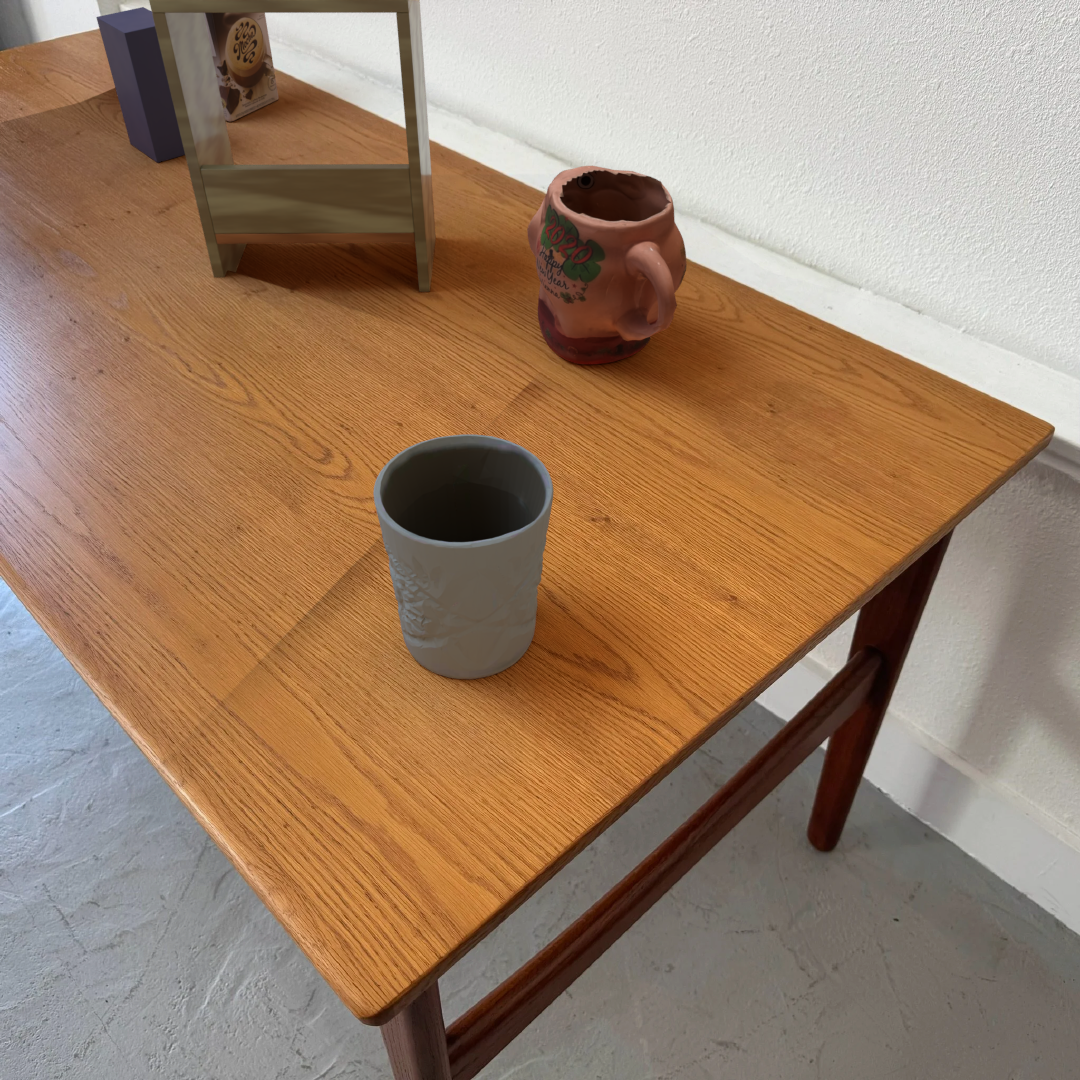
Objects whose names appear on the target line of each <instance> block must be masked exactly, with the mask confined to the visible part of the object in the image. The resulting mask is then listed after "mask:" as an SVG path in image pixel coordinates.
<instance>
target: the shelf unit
mask: <svg viewBox="0 0 1080 1080" xmlns="http://www.w3.org/2000/svg"><path fill="white" fill-rule="evenodd" d="M148 3H149V6H150V11H152V15H153V19H154V24H155V28H156V32H157V36H158V41H159V45H160V49H161V54H162V58H163V62H164V66H165V71H166V75H167V79H168V83H169V88H170V92H171V96H172V101H173V105H174V109H175V113H176V118H177V122H178V126H179V130H180V135H181V139H182V143H183V147H184V152H185V155H184V156H185V160H186V164H187V168H188V172H189V177H190V181H191V186H192V190H193V195H194V199H195V203H196V207H197V210H198V211H197V212H198V216H199V219H200V223H201V228H202V232H203V233H202V234H203V237H204V242H205V245H206V249H207V253H208V254H207V255H208V258H209V262H210V266H211V270H212V276H213V278H225V277H226V275H227V272H228V271H229V272H232V273H237V270H238V268H239V265H240V262H241V260H242V257H243V255H244V252H245V251H246V246H247V244H248V245H249V244H251V245H252V244H253V245H254V244H256V245H257V244H262V245H263V244H415V254H416V255H415V256H416V257H415V258H416V267H417V268H416V269H417V280H418V290H419V292H420V293H429V292H430V291H431V286H432V285H431V284H432V276H433V267H434V266H433V265H434V255H435V249H436V248H435V247H436V238H437V236H436V222H435V221H436V220H435V206H434V190H433V178H432V177H433V176H432V162H431V161H432V160H431V148H430V133H429V132H430V131H429V118H428V103H427V90H426V87H427V86H426V73H425V62H424V61H425V60H424V59H425V58H424V45H423V30H422V29H423V28H422V16H421V1H420V0H148ZM204 13H265V14H269V13H270V14H275V13H276V14H279V13H280V14H283V13H284V14H285V13H287V14H293V13H295V14H296V13H297V14H302V13H303V14H309V13H310V14H312V13H313V14H314V13H315V14H317V13H318V14H319V13H320V14H323V13H324V14H330V13H331V14H333V13H334V14H335V13H337V14H340V13H341V14H345V13H346V14H350V13H351V14H352V13H355V14H358V13H359V14H360V13H361V14H365V13H366V14H369V13H370V14H373V13H375V14H379V13H380V14H381V13H383V14H384V13H385V14H386V13H387V14H388V13H389V14H390V13H391V14H392V13H393V14H395V15H396V28H397V40H398V50H399V51H398V52H399V63H400V74H401V76H400V77H401V89H402V97H403V112H404V123H405V135H406V146H407V147H406V148H407V159H408V160H407V161H408V163H337V164H336V163H332V164H331V163H329V164H328V163H323V164H322V163H320V164H318V163H317V164H316V163H315V164H314V163H313V164H311V163H310V164H308V163H307V164H304V163H303V164H301V163H299V164H297V163H296V164H294V163H293V164H285V163H283V164H282V163H281V164H279V163H278V164H235V161H234V157H233V156H234V155H233V151H232V147H231V146H232V145H231V142H230V141H231V140H230V137H229V131H228V126H227V121H226V120H225V116H224V111H223V106H222V101H221V96H220V92H219V87H218V82H217V77H216V72H215V67H214V62H213V57H212V52H211V47H210V42H209V37H208V32H207V27H206V22H205V17H204Z"/></svg>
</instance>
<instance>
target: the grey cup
mask: <svg viewBox="0 0 1080 1080" xmlns="http://www.w3.org/2000/svg"><path fill="white" fill-rule="evenodd" d="M554 492H555V491H554V483H553V481H552V478H551V475H550V472H549V470H548V469H547V467H546V466H545V464H544V463H543V462H542V461H541V460H540V459H539V458H538V457H537V456H536V455H535V454H534V453H532V452H531V451H530V450H528V449H526V448H525V447H524V446H522V445H519V444H517V443H515V442H512V441H510V440H508V439H504V438H499V437H496V436H493V435H483V434H473V433H472V434H454V435H446V436H438V437H434V438H430V439H427V440H423V441H420V442H418V443H415V444H413V445H410V446H409V447H406V448H405V449H403V450H402V451H400V452H398V453H397V454H396V455H395V456H393V457H392V458H391V459H390V460H389V461H388V462H386V463H385V464H384V466H383V467H382V469H381V470H380V472H379V474H378V475H377V477H376V479H375V482H374V486H373V501H374V506H375V512H376V515H377V519H378V523H379V526H380V532H381V536H382V542H383V547H384V550H385V552H386V554H387V557H388V568H389V572H390V573H389V574H390V578H391V582H392V587H393V591H394V598H395V599H396V601H397V607H398V608H397V613H398V617H399V623H400V628H401V632H402V637H403V641H404V644H405V646H406V648H407V650H408V652H409V653H410V655H411V656H412V657H413V658H414V660H415V661H416V662H417V663H418V664H419V665H421V667H423V668H424V669H426V670H428V671H430V672H432V673H434V674H437V675H439V676H442V677H446V678H449V679H456V680H476V679H481V678H487V677H490V676H494V675H496V674H499V673H501V672H503V671H505V670H507V669H508V668H510V667H512V666H513V665H514V664H516V663H517V662H519V660H520V659H522V658H523V656H524V655H525V654H526V652H527V651H528V649H529V648H530V646H531V643H532V641H533V639H534V635H535V631H536V623H537V611H538V594H539V592H538V587H539V586H540V583H541V582H542V574H543V567H544V566H543V565H544V564H543V562H544V552H545V549H546V545H547V534H548V530H549V525H550V521H551V520H550V519H551V513H552V508H553V500H554Z"/></svg>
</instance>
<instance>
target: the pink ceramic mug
mask: <svg viewBox="0 0 1080 1080" xmlns="http://www.w3.org/2000/svg"><path fill="white" fill-rule="evenodd" d="M526 231H527V241H528V244H529V248H530V251H531V253H532V254H533V256H534V257H535V268H536V273H537V277H538V280H539V282H540V285H539V289H538V299H537V301H538V302H537V320H538V325H539V329H540V332H541V334H542V337H543V340H544V341H545V342H546V344H547V345H548V347H549V348H550V350H551V351H553V352H554V353H555V354H556V355H558V356H559V357H560V358H561V359H563V360H565V361H567V362H571V363H574V364H578V365H598V364H599V365H600V364H609V363H614V362H618V361H620V360H624V359H627V358H629V357H632V356H634V355H635V354H637V353H638V352H640V351H641V350H643V349H644V348H645V347H646V346H647V345H648V344H649V343H650V340H651V338H652V336H654V335H656V334H658V333H661V332H663V331H665V330H668V328H669V327H670V325H671V324H672V322H673V320H674V314H675V311H676V309H677V307H678V304H677V299H676V292H677V291H678V290H679V288H680V286H681V285H682V282H683V281H684V278H685V274H686V272H687V251H686V246H685V242H684V238H683V235H682V233H681V231H680V229H679V228H678V225H677V224H676V220H675V206H674V201H673V197H672V195H671V193H670V192H669V191H668V189H667V188H666V186H665V185H664V184H663V182H662V181H661V180H659V179H657V178H655V177H652V176H649V175H646V174H643V173H641V172H637V171H634V170H623V169H622V170H621V169H612V168H607V167H602V166H597V165H582V166H578V167H574V168H569V169H565V170H562V171H560V172H559V173H557V175H555V177H553V179H552V181H551V182H550V184H549V185H548V187H547V189H546V194H545V196H544V198H543V199H542V202H541V205H540V206H539V208H538V210H537V211H536V213H535V214H534V215H533V216H532V218H531V220H530V222H529V223H528V225H527V230H526Z"/></svg>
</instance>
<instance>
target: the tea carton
mask: <svg viewBox="0 0 1080 1080" xmlns="http://www.w3.org/2000/svg"><path fill="white" fill-rule="evenodd" d="M95 17H96V22H97V25H98V28H99V32H100V36H101V40H102V43H103V47H104V50H105V51H104V52H105V54H106V59H107V62H108V66H109V69H110V73H111V78H112V80H113V84H114V88H115V92H116V95H117V99H118V104H119V106H120V111H121V114H122V118H123V122H124V125H125V129H126V133H127V137H128V140H129V144H130V145H131V146H132V147H134V148H135V149H137V151H140V152H141V153H143V154H144V155H146V156H147V157H149V158H150V159H151V160H153V161H154V162H155V163H157V164H158V163H162V162H165V161H168V160H172V159H175V158H178V157H182V156H185V152H184V147H183V143H182V139H181V135H180V130H179V126H178V122H177V118H176V113H175V109H174V105H173V101H172V96H171V92H170V88H169V83H168V79H167V75H166V71H165V66H164V62H163V58H162V54H161V49H160V45H159V41H158V36H157V32H156V28H155V24H154V19H153V15H152V11H151V9H148V8H146V7H144V6H141V7H137V8H136V7H135V8H132V9H127V10H122V11H118V12H114V13H109V14H104V15H99V16H95ZM161 161H162V162H161Z"/></svg>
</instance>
